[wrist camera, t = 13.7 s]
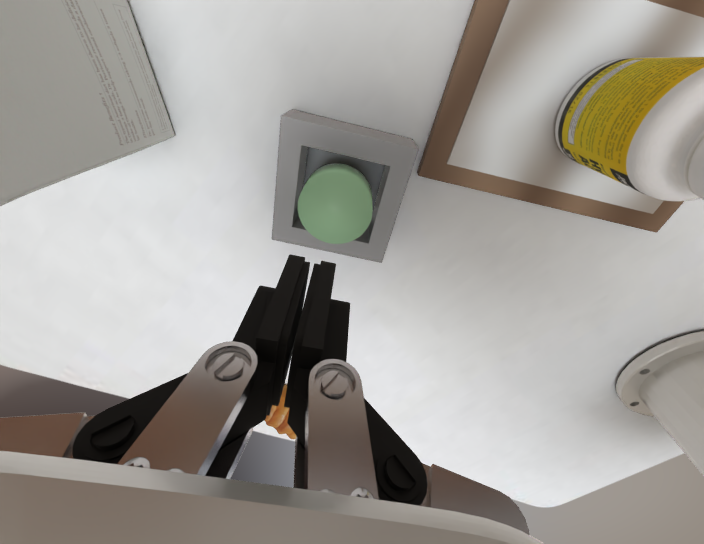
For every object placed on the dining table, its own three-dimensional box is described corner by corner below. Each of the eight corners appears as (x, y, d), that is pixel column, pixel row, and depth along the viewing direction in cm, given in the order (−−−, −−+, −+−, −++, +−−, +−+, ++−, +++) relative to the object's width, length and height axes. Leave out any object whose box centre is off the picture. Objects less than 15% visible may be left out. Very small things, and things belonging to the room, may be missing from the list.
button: (380, 172, 18) (381, 183, 17) (363, 235, 21) (362, 250, 19) (308, 155, 18) (302, 164, 16) (299, 221, 21) (293, 235, 19)
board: (819, 26, 16) (844, 24, 15) (648, 227, 23) (658, 233, 22) (500, -74, 15) (507, -83, 14) (417, 172, 21) (418, 176, 20)
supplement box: (7, 6, 17) (-552, -87, 7) (131, -3, 17) (-265, -117, 6) (78, 144, 21) (-202, 218, 11) (179, 140, 21) (-12, 214, 10)
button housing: (412, 139, 20) (418, 149, 18) (380, 242, 25) (381, 262, 22) (292, 109, 19) (280, 115, 17) (281, 221, 24) (271, 239, 21)
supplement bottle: (536, 157, 19) (656, 223, 11) (578, 53, 16) (783, 39, 8) (620, 165, 19) (800, 236, 11) (678, 63, 16) (981, 58, 8)
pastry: (244, 397, 38) (233, 427, 35) (265, 368, 35) (255, 398, 32) (310, 422, 40) (305, 452, 37) (336, 397, 37) (333, 428, 34)
